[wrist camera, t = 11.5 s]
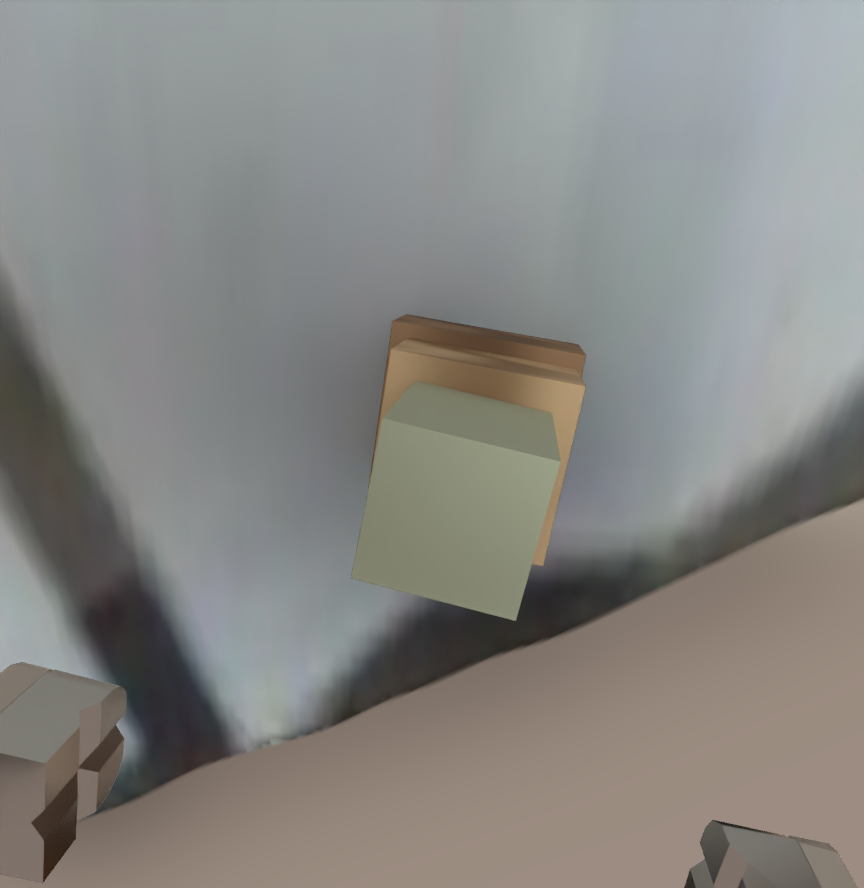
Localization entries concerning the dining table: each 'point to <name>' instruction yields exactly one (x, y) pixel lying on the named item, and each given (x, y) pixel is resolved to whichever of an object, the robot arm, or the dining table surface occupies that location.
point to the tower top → (494, 393)
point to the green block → (457, 498)
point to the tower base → (483, 344)
